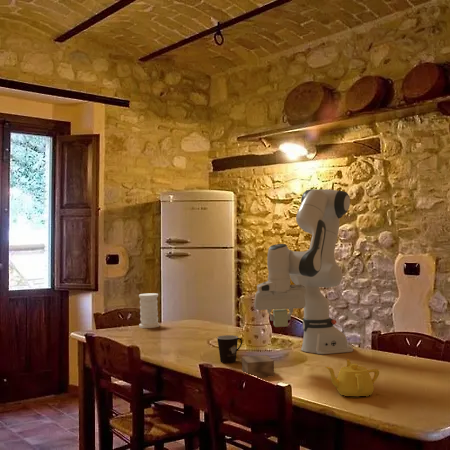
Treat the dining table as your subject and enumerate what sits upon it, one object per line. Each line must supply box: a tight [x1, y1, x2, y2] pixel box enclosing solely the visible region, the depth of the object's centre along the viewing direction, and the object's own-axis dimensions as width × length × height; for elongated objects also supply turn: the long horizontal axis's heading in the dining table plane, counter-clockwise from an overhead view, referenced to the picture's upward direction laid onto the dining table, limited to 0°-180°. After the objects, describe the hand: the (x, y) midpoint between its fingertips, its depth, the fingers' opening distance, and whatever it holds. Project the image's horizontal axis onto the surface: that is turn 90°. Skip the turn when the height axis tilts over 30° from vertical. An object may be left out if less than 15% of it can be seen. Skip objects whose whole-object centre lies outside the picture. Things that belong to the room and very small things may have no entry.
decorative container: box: [138, 292, 161, 329], centre depth 336 cm, size 12×12×18 cm
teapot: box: [325, 358, 380, 397], centre depth 198 cm, size 14×13×10 cm
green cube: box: [272, 309, 289, 328], centre depth 236 cm, size 5×5×6 cm
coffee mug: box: [216, 334, 243, 364], centre depth 248 cm, size 12×9×10 cm
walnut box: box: [241, 354, 275, 378], centre depth 227 cm, size 10×10×6 cm
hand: (280, 320), depth 236 cm, fingers closed on green cube, 5 cm apart
